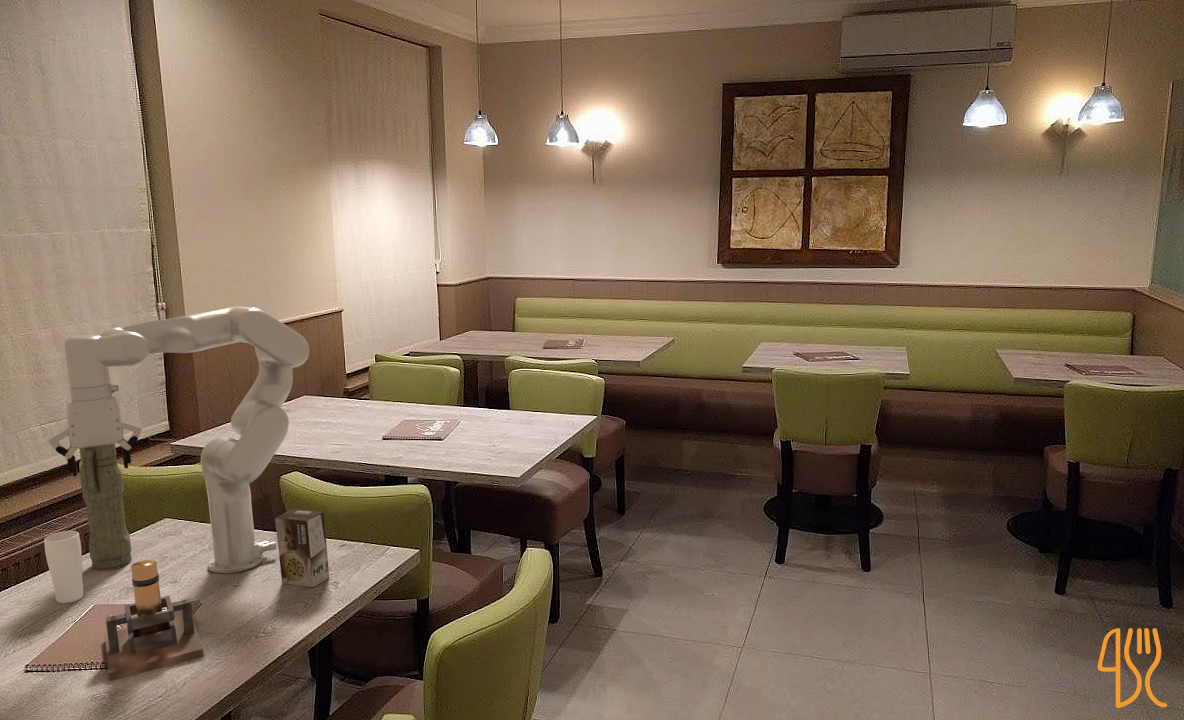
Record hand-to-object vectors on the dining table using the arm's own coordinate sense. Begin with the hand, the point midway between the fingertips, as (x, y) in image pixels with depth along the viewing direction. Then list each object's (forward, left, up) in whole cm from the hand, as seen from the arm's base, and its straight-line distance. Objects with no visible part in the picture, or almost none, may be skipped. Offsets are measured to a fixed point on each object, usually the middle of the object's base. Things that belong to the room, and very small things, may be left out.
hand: (101, 470), depth 185 cm
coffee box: (-38, +12, -31) cm, 50 cm away
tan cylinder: (-5, +28, -29) cm, 40 cm away
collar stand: (-5, +28, -30) cm, 42 cm away
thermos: (0, -26, -31) cm, 40 cm away
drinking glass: (+9, -8, -31) cm, 33 cm away
